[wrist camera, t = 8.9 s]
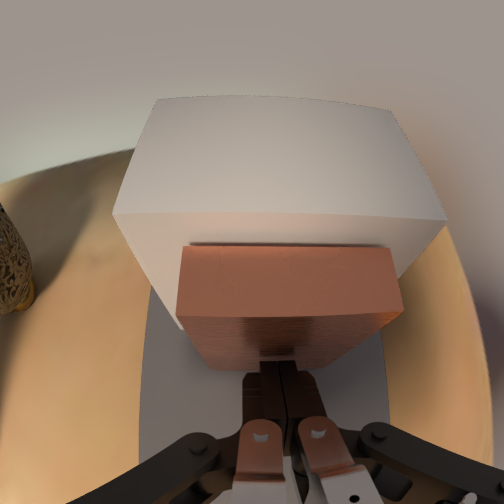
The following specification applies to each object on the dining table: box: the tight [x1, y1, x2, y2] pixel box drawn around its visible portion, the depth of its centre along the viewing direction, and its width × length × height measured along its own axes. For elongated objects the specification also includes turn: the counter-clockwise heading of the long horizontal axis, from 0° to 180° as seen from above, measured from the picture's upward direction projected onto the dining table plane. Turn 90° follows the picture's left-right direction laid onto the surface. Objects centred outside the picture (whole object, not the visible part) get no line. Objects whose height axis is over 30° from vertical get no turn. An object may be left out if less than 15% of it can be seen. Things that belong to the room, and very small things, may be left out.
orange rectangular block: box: [175, 246, 404, 371], centre depth 14 cm, size 6×11×9 cm, turn 1°
